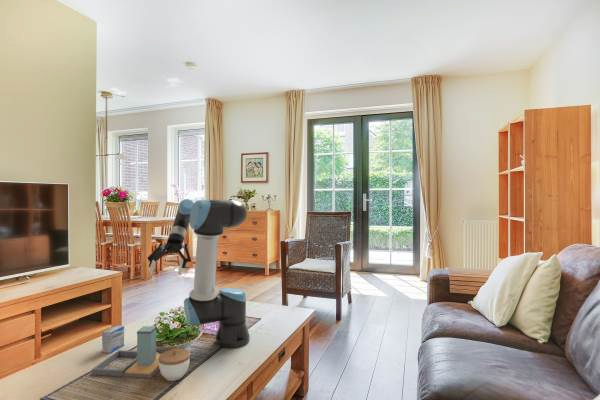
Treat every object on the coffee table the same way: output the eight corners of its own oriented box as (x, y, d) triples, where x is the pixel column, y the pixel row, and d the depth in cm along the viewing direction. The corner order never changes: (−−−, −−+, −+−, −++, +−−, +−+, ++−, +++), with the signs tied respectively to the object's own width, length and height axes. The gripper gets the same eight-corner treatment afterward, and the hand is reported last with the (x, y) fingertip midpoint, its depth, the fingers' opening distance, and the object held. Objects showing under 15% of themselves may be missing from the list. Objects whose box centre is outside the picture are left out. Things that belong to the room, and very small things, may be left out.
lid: (171, 357, 137) (171, 354, 137) (151, 377, 122) (151, 374, 122) (145, 356, 138) (145, 353, 138) (122, 376, 123) (122, 372, 123)
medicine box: (111, 353, 140) (111, 332, 140) (101, 352, 141) (101, 331, 141) (124, 345, 148) (124, 325, 148) (115, 344, 149) (115, 324, 149)
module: (156, 359, 133) (156, 326, 133) (150, 366, 127) (150, 331, 127) (143, 359, 133) (143, 326, 133) (136, 365, 127) (137, 331, 127)
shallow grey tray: (146, 356, 138) (146, 351, 138) (123, 376, 123) (123, 370, 123) (118, 355, 139) (118, 350, 139) (91, 374, 124) (92, 369, 124)
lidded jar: (158, 387, 116) (158, 359, 116) (158, 372, 126) (158, 346, 126) (191, 380, 120) (191, 354, 120) (188, 366, 130) (188, 342, 130)
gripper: (203, 242, 174) (193, 278, 159) (154, 241, 174) (140, 277, 159) (200, 232, 168) (190, 269, 153) (149, 232, 168) (134, 268, 153)
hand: (164, 273), depth 156 cm, fingers open, 13 cm apart
